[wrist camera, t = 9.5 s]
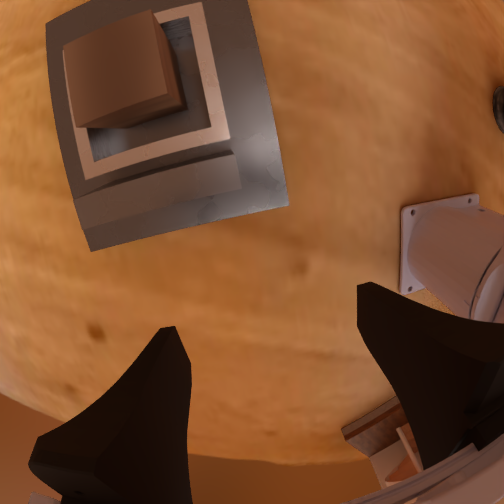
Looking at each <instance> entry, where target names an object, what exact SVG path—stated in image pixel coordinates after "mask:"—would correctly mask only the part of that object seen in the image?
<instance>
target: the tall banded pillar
mask: <svg viewBox="0 0 504 504" xmlns="http://www.w3.org/2000/svg"><path fill="white" fill-rule="evenodd" d="M341 430H342V433H343V435H344V438H345V441H346V442H348V443H349V444H351V445H352V446H353V447H355V448H356V449H358V450H359V451H361V452H362V453H364V454H365V455H366V456H368V457H369V458H370V461H371V463H372V465H373V468H374V470H375V473H376V475H377V478H378V480H379V483H380V485H381V488H382V489H384V488H387V487H389V486H391V485H394V484H396V483H398V482H401V481H403V480H405V479H407V478H410V477H412V476H414V475H416V474H418V473H420V472H422V471H424V470H423V465H422V462H421V458H420V455H419V451H418V448H417V445H416V442H415V439H414V436H413V433H412V430H411V428H410V425H409V423H408V420H407V418H406V415H405V413H404V410H403V408H402V406H401V404H400V401H399V399H398V397H397V396H395V397H394V398H392V399H391V400H389V401H388V402H386V403H385V404H383V405H382V406H380V407H378V408H377V409H375V410H374V411H372V412H370V413H369V414H367V415H365V416H364V417H362V418H360V419H358V420H357V421H355V422H353V423H351V424H350V425H348V426H346V427H344V428H342V429H341ZM417 498H418V497H417ZM417 498H415V499H412V500H410V501H408V502H406V503H404V504H412V503H414V502H416V500H417Z"/></svg>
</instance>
